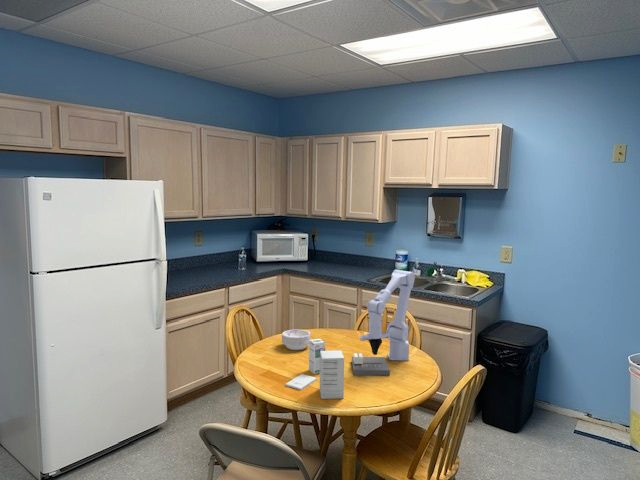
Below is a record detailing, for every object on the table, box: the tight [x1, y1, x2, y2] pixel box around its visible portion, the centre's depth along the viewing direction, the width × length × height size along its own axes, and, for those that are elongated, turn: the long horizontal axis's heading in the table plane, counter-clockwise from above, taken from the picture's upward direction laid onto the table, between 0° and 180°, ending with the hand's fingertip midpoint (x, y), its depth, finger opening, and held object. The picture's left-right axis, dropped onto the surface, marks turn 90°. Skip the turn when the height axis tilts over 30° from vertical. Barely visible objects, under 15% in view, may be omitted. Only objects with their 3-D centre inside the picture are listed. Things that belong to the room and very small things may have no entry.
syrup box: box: [308, 338, 326, 375], centre depth 203 cm, size 6×6×14 cm
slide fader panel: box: [351, 356, 391, 376], centre depth 208 cm, size 16×16×3 cm
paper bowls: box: [281, 328, 312, 351], centre depth 234 cm, size 15×15×8 cm
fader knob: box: [353, 352, 364, 364], centre depth 208 cm, size 4×5×4 cm
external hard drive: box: [284, 373, 317, 391], centre depth 191 cm, size 2×8×12 cm
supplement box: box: [319, 350, 345, 400], centre depth 180 cm, size 10×9×17 cm
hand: (374, 354), depth 208 cm, fingers closed
